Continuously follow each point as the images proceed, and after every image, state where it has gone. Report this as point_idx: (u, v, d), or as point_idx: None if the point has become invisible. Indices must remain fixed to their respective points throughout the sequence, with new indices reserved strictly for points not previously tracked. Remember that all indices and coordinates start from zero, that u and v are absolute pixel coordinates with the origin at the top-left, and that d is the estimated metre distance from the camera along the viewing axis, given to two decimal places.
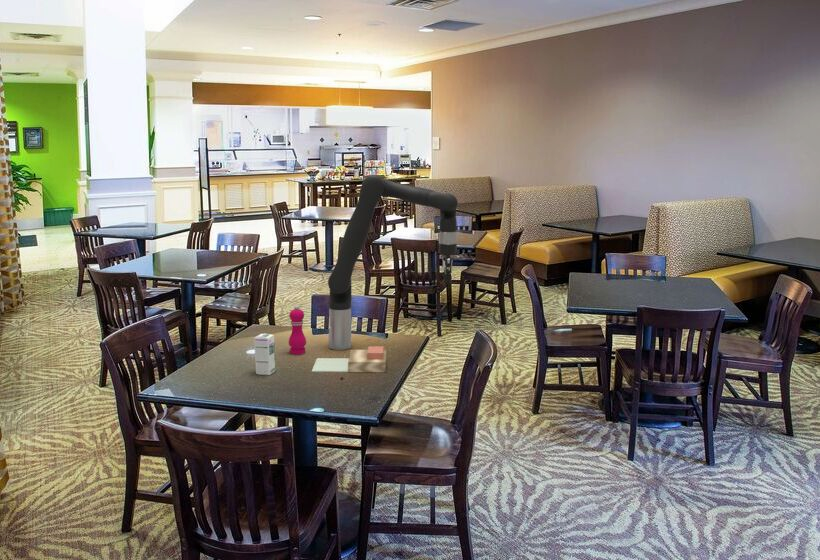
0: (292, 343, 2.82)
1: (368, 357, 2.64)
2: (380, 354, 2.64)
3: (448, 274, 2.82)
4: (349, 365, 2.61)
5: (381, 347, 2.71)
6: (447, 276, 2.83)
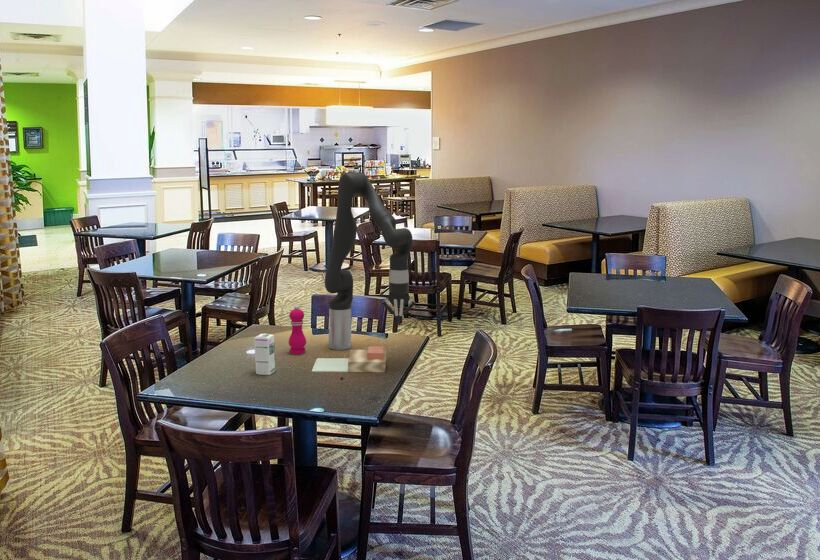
0: (292, 343, 2.82)
1: (368, 357, 2.64)
2: (380, 354, 2.64)
3: (402, 315, 2.66)
4: (349, 365, 2.61)
5: (381, 347, 2.71)
6: None
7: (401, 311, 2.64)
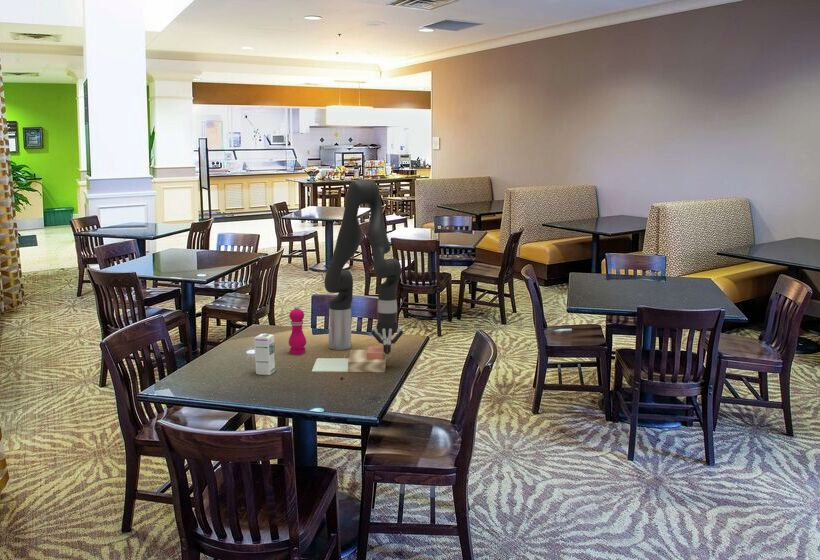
0: (292, 343, 2.82)
1: (368, 357, 2.64)
2: (380, 354, 2.64)
3: None
4: (349, 365, 2.61)
5: (381, 347, 2.71)
6: (390, 346, 2.68)
7: (389, 340, 2.66)
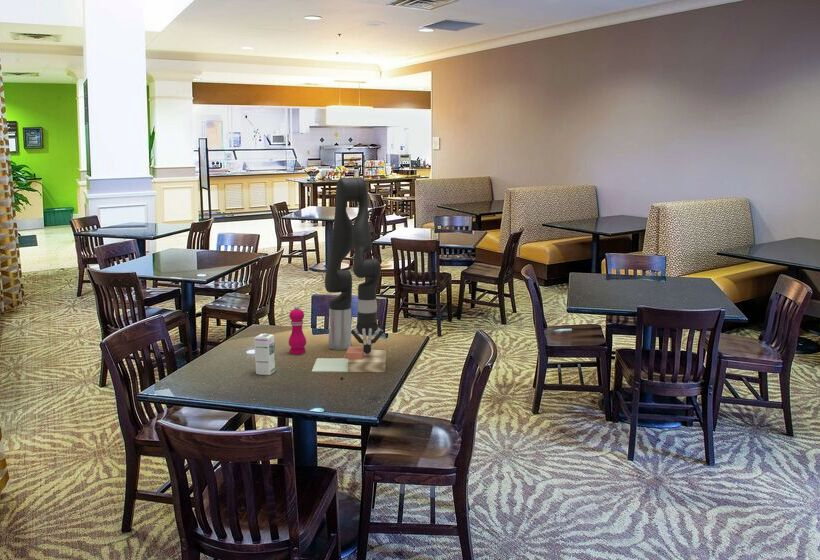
0: (292, 343, 2.82)
1: (348, 357, 2.64)
2: (360, 354, 2.63)
3: None
4: (349, 365, 2.61)
5: (362, 347, 2.71)
6: (370, 346, 2.68)
7: (369, 340, 2.66)
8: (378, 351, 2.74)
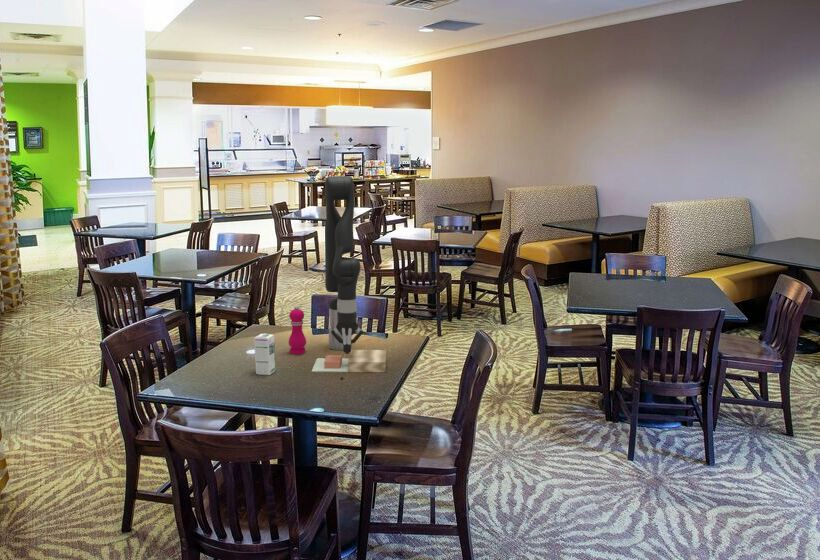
0: (292, 343, 2.82)
1: (338, 364, 2.64)
2: (326, 367, 2.64)
3: None
4: (349, 365, 2.61)
5: None
6: (350, 346, 2.67)
7: (349, 340, 2.66)
8: (378, 351, 2.74)
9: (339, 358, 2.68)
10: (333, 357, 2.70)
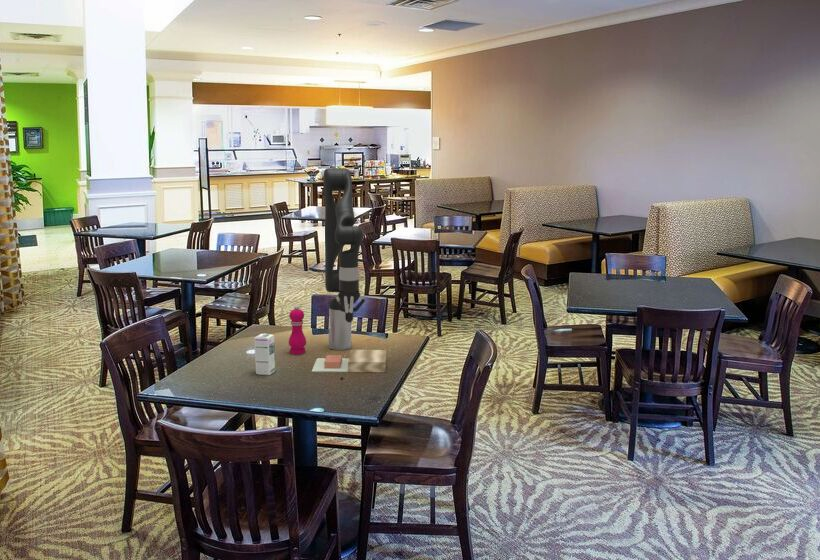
0: (292, 343, 2.82)
1: (338, 364, 2.64)
2: (326, 367, 2.64)
3: None
4: (349, 365, 2.61)
5: None
6: (352, 315, 2.67)
7: (351, 308, 2.65)
8: (378, 351, 2.74)
9: (339, 358, 2.68)
10: (333, 357, 2.70)
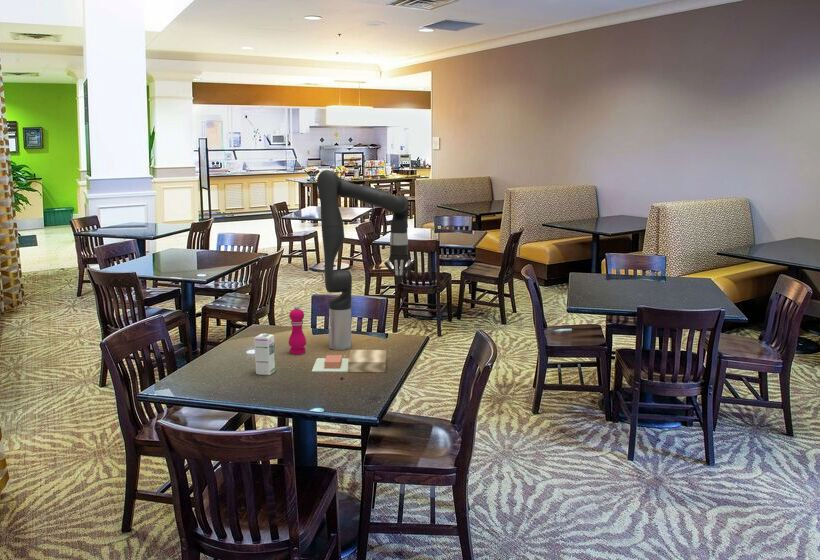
0: (292, 343, 2.82)
1: (338, 364, 2.64)
2: (326, 367, 2.64)
3: None
4: (349, 365, 2.61)
5: None
6: None
7: (401, 271, 2.91)
8: (378, 351, 2.74)
9: (339, 358, 2.68)
10: (333, 357, 2.70)
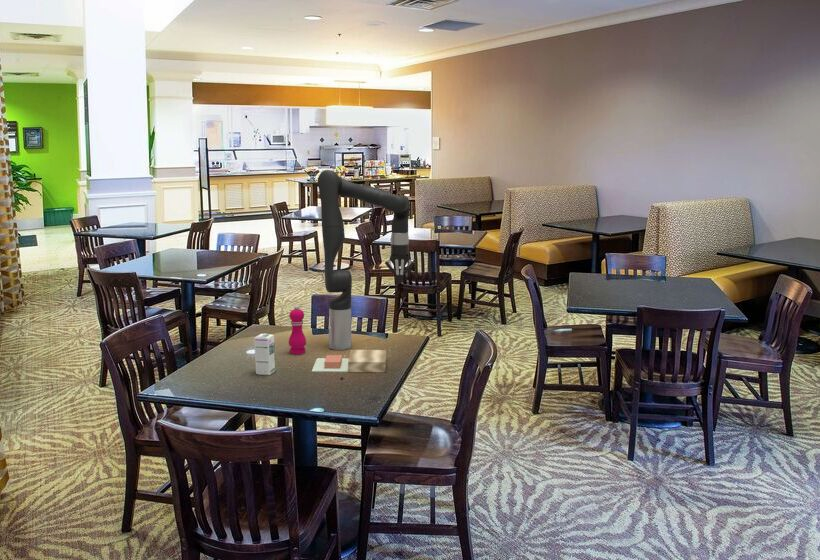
0: (292, 343, 2.82)
1: (338, 364, 2.64)
2: (326, 367, 2.64)
3: None
4: (349, 365, 2.61)
5: None
6: (402, 277, 2.93)
7: (402, 270, 2.91)
8: (378, 351, 2.74)
9: (339, 358, 2.68)
10: (333, 357, 2.70)
